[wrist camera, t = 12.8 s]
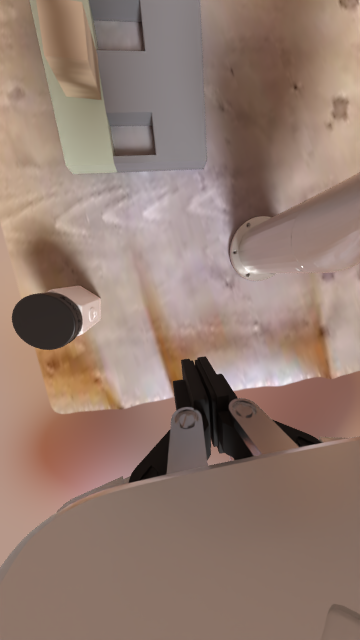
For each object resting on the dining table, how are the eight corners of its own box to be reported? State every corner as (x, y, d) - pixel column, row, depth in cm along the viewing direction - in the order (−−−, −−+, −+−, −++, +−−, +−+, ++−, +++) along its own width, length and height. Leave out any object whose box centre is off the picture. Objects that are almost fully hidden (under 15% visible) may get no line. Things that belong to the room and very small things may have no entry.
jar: (102, 329, 37) (77, 354, 26) (61, 327, 36) (15, 352, 24) (101, 287, 35) (74, 293, 24) (57, 283, 34) (6, 288, 22)
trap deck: (195, 15, 27) (199, -11, 24) (203, 169, 32) (206, 160, 30) (37, 7, 25) (24, -22, 22) (72, 174, 30) (65, 165, 27)
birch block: (97, 54, 25) (82, 1, 20) (101, 99, 26) (87, 60, 21) (60, 50, 24) (35, -6, 19) (66, 96, 26) (44, 55, 21)
